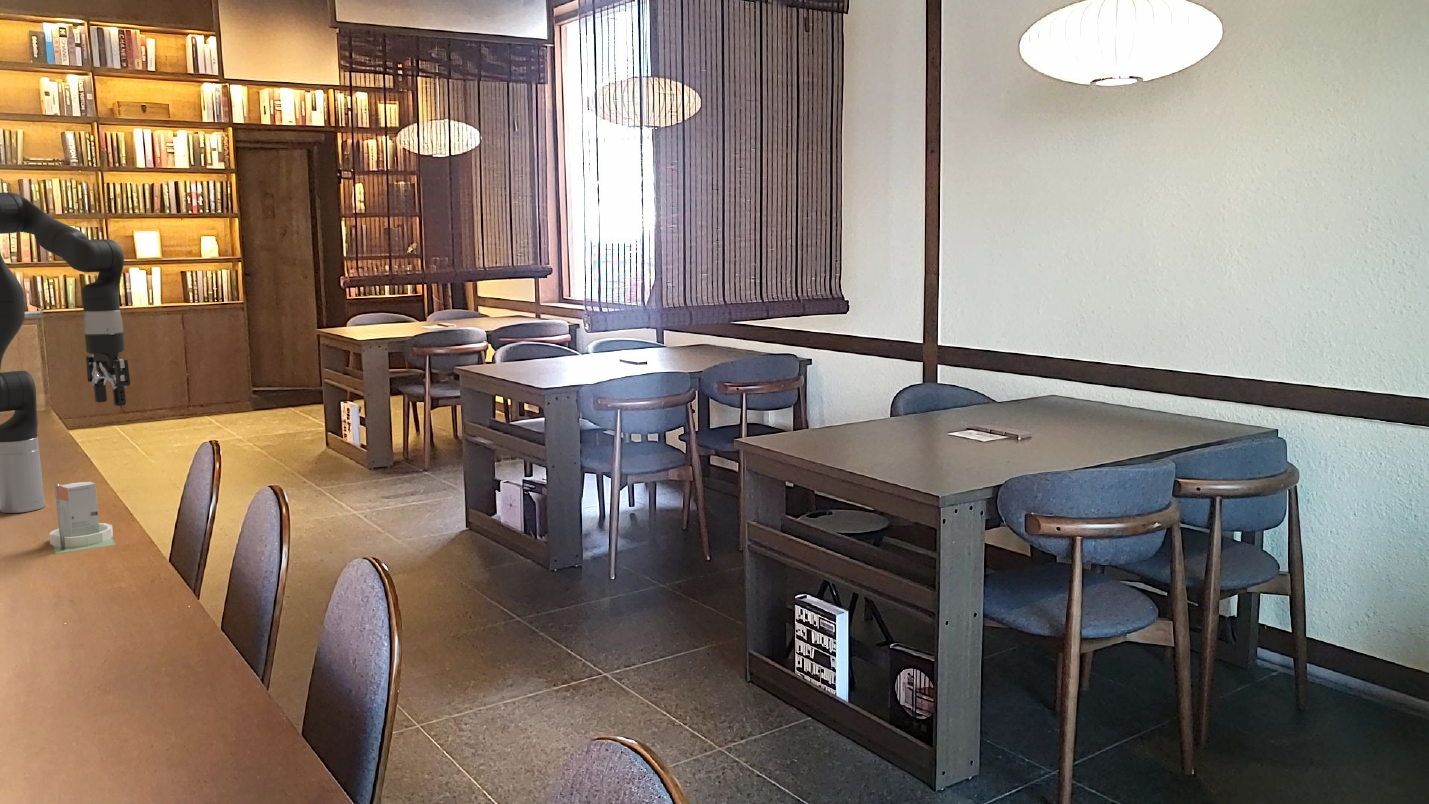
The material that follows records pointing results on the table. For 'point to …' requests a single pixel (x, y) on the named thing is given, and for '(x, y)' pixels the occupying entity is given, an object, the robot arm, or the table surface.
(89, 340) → the robot arm
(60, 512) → the pin flag
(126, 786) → the table surface
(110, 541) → the felt mat
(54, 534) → the cup
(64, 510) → the skincare box
